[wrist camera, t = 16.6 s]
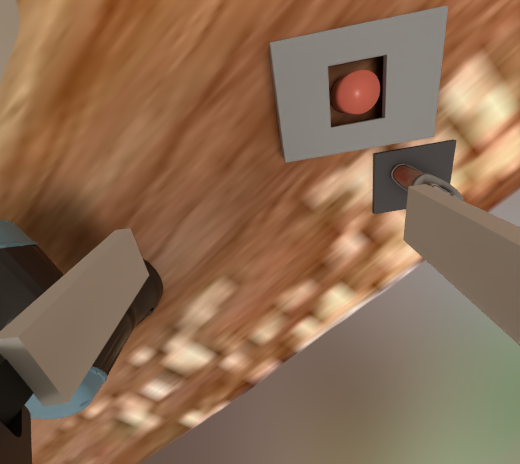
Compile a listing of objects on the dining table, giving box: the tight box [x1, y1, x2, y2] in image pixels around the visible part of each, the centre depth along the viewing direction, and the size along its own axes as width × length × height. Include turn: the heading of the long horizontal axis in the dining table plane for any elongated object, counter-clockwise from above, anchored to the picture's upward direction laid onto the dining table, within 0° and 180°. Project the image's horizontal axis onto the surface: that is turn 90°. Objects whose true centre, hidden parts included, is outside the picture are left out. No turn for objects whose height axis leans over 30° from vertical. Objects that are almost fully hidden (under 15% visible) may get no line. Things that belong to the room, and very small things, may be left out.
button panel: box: [269, 6, 448, 163], centre depth 35 cm, size 20×14×5 cm
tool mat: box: [373, 140, 456, 214], centre depth 43 cm, size 12×10×1 cm
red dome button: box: [330, 70, 380, 114], centre depth 34 cm, size 5×5×5 cm
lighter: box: [389, 163, 464, 201], centre depth 38 cm, size 8×3×10 cm, turn 61°
